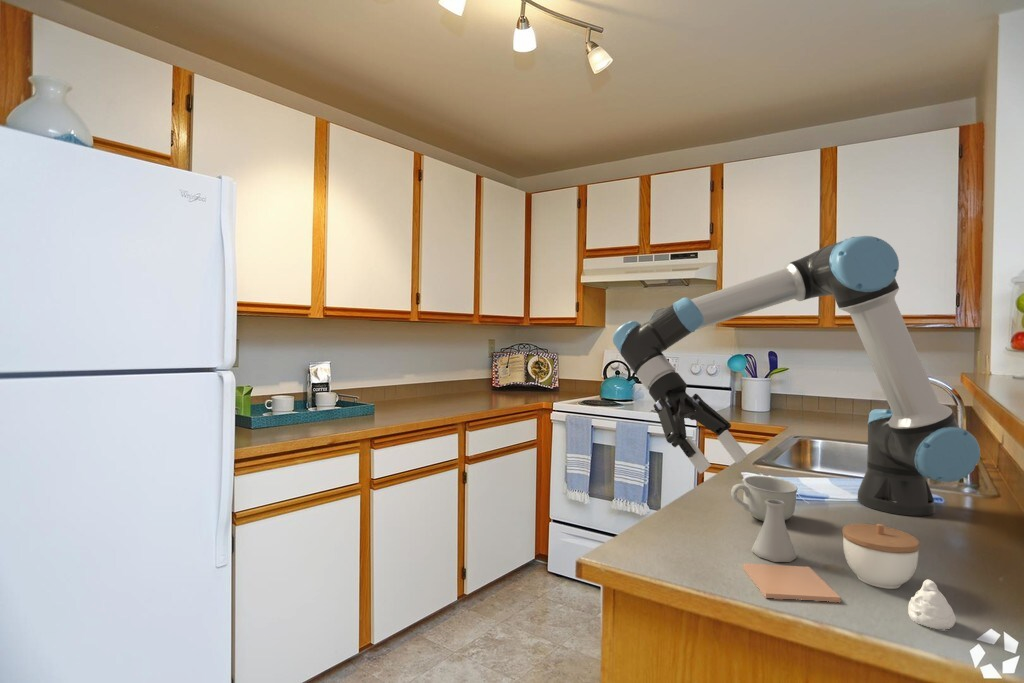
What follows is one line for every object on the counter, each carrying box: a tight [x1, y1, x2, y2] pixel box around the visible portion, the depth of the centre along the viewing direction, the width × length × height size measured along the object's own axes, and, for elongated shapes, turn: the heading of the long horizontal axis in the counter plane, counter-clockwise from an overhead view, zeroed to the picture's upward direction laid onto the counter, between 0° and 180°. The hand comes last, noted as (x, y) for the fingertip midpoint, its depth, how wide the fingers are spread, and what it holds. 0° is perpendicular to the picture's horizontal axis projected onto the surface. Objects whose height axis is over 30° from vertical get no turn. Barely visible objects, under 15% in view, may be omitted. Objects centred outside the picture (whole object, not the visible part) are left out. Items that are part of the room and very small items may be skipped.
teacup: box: [730, 475, 798, 522], centre depth 124 cm, size 14×11×8 cm
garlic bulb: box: [907, 579, 957, 631], centre depth 81 cm, size 6×6×5 cm
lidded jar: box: [841, 523, 921, 590], centre depth 94 cm, size 11×11×9 cm
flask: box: [751, 499, 798, 563], centre depth 104 cm, size 7×7×10 cm
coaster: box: [742, 563, 841, 603], centre depth 92 cm, size 11×11×1 cm
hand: (724, 464), depth 111 cm, fingers open, 13 cm apart
